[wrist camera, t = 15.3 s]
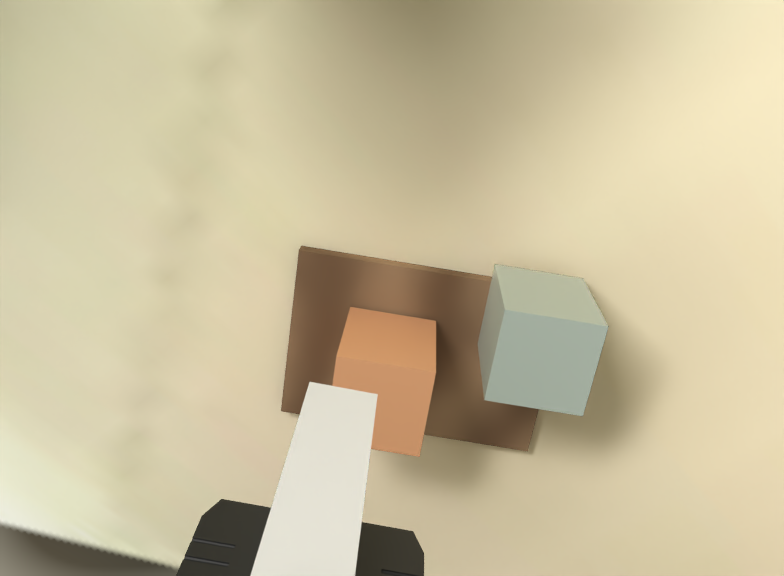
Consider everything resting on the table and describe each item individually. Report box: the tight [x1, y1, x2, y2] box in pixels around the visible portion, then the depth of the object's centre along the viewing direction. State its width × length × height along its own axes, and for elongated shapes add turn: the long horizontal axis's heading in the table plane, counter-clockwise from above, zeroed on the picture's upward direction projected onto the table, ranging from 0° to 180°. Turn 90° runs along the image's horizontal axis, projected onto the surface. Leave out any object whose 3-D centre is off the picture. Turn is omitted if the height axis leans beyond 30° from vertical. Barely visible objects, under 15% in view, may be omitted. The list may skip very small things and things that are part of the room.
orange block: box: [332, 307, 436, 457], centre depth 42 cm, size 5×5×7 cm
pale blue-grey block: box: [478, 264, 609, 416], centre depth 41 cm, size 5×5×7 cm
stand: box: [281, 246, 538, 451], centre depth 46 cm, size 16×11×1 cm
